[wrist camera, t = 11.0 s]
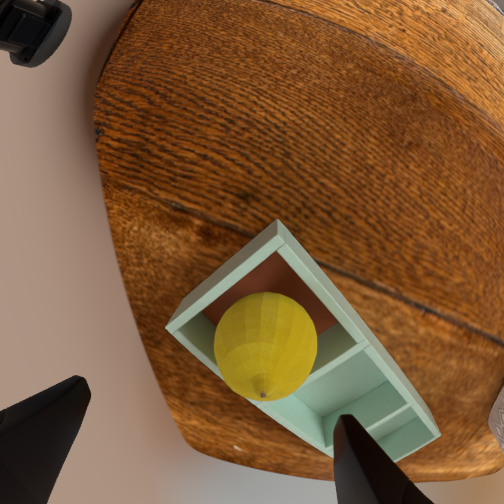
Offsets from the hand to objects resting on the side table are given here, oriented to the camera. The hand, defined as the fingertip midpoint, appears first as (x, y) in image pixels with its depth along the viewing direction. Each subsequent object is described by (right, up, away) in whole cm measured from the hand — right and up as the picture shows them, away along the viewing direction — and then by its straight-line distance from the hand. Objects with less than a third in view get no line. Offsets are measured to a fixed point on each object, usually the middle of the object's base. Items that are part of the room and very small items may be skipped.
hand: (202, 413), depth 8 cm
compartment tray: (+8, -4, +13) cm, 16 cm away
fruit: (+3, +1, +11) cm, 11 cm away
